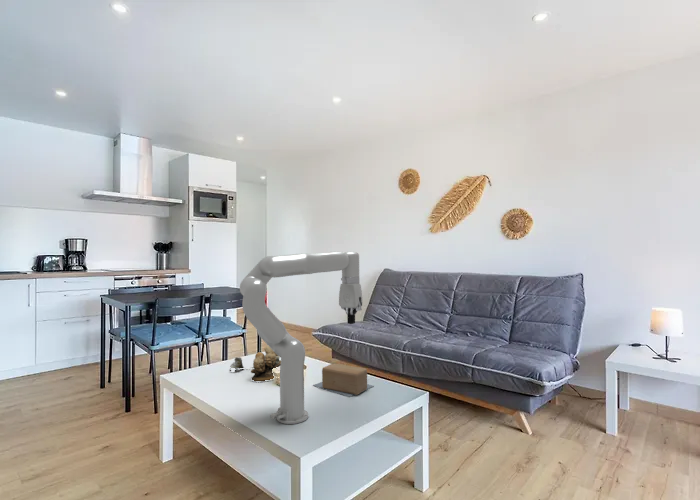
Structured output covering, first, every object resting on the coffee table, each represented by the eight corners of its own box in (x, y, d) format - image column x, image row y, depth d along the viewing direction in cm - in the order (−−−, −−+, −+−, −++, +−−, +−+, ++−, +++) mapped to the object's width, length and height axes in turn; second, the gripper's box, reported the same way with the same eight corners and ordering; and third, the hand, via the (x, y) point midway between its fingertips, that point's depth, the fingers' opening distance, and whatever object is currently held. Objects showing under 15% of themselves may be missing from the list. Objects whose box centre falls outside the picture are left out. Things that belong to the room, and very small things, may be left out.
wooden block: (357, 395, 180) (321, 388, 191) (368, 389, 189) (333, 382, 199) (357, 373, 180) (321, 367, 191) (367, 368, 189) (332, 362, 199)
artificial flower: (267, 375, 217) (263, 359, 215) (228, 379, 220) (224, 363, 218) (271, 366, 226) (267, 351, 223) (234, 370, 229) (230, 354, 226)
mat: (349, 397, 180) (349, 396, 180) (313, 385, 195) (313, 385, 195) (374, 386, 193) (374, 385, 193) (338, 376, 209) (338, 376, 209)
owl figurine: (275, 371, 220) (274, 340, 220) (287, 376, 212) (287, 344, 212) (246, 379, 207) (246, 346, 207) (258, 384, 199) (258, 350, 199)
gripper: (332, 280, 173) (332, 322, 173) (358, 282, 163) (359, 326, 163) (343, 279, 178) (344, 320, 178) (369, 280, 168) (370, 324, 168)
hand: (351, 323), depth 170 cm, fingers closed
